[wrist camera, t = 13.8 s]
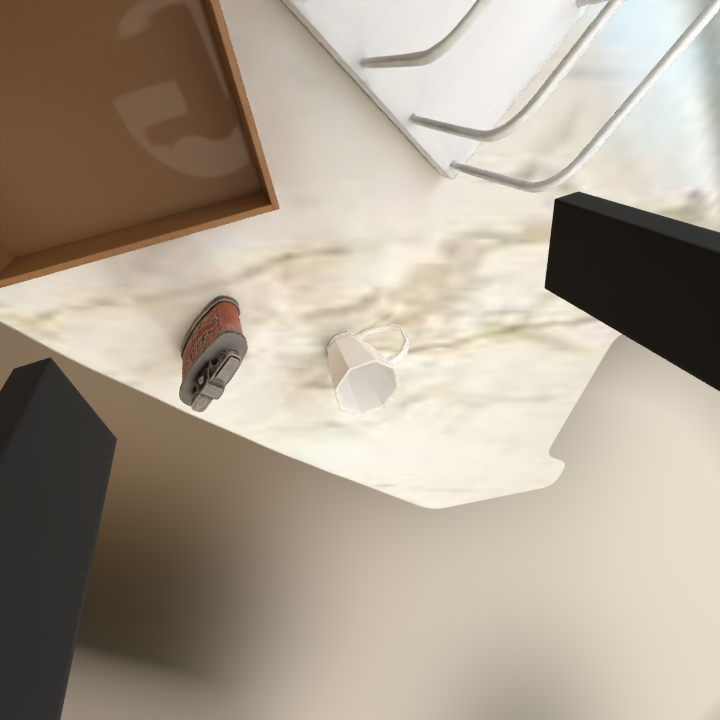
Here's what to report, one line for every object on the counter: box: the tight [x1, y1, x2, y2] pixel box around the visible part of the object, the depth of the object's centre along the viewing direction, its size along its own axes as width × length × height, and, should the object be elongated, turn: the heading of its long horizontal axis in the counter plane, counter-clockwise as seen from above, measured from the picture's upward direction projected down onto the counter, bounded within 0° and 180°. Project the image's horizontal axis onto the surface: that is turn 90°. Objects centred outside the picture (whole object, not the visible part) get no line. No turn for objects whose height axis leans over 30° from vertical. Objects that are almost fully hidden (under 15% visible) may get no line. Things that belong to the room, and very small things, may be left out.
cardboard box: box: [0, 0, 279, 288], centre depth 27 cm, size 17×21×5 cm
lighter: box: [179, 296, 248, 412], centre depth 36 cm, size 8×3×10 cm, turn 139°
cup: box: [326, 324, 409, 416], centre depth 44 cm, size 7×10×8 cm
